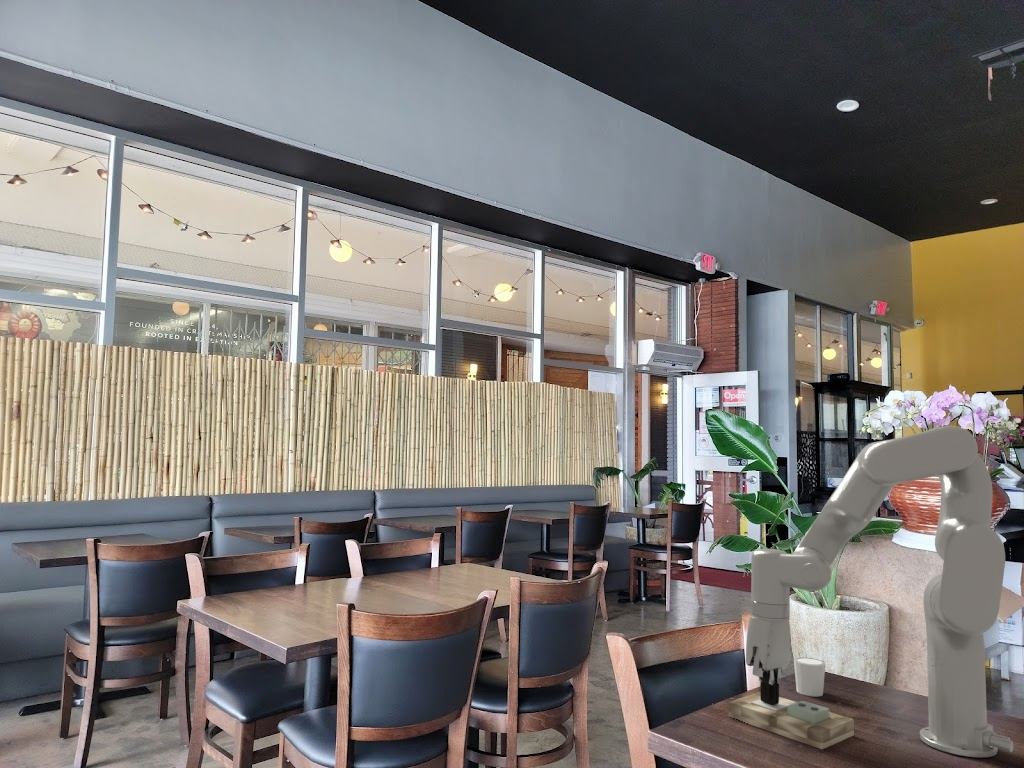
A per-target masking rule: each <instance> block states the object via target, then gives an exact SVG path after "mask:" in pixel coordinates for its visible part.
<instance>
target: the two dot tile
mask: <svg viewBox="0 0 1024 768" xmlns="http://www.w3.org/2000/svg"><path fill="white" fill-rule="evenodd" d="M796 702H797V703H794V704H791V705H788V706H787V715H788V716H791V717H794V718H797V719H800V720H803V721H806V722H809V723H812V724H817V723H820V722H822V721H825V720H827V719H829V712H830V708H829V707H825V706H822V705H819V704H815V703H811V702H808V701H804V700H800V701H796Z"/></svg>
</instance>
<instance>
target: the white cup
mask: <svg viewBox="0 0 1024 768" xmlns="http://www.w3.org/2000/svg"><path fill="white" fill-rule="evenodd" d="M793 667H794V676H795V687H796V688H795V689H796V692H797V693H798V694H800V695H802V696H803V695H804V696H807V697H822V696H823V694H824V686H825V676H826V675H825V673H826V662H825V661H824V660H821V659H818V658H812V657H795V658H794V659H793Z"/></svg>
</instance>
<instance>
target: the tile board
mask: <svg viewBox="0 0 1024 768" xmlns="http://www.w3.org/2000/svg"><path fill="white" fill-rule="evenodd" d="M760 699H761V691H759V692H755V693H753V694H750V695H746V696H743V697H739V698H736V699H733V700H731V701H728V717H729V716H730V717H732V718H731V719H733V718H735V719H734V720H736V719H738V720H741V721H743V722H742V723H744V722H745V723H744V724H747V723H748V724H747V725H750V726H754V727H755V728H756V727H757V728H759V729H762V730H765V731H768V732H771V733H774V734H776V735H780V736H782V737H785V738H788V739H791V740H794V741H797V742H800V743H803V744H805V745H809V746H811V747H814V748H818V749H820V750H824V749H826V748H829V747H830V746H834V745H837V744H838V743H840V742H842V741H844V740H847V739H848V738H851V737H853V736H855V729H854V728H855V727H854V726H855V725H854V724H855V720H854V718H850V717H848V716H844V715H841V714H837V713H834V712H831V711H829V719H827V720H825V721H822V722H820V723H817V724H812V723H809V722H806V721H803V720H800V719H797V718H794V717H791V716H788V715H787V709H784V710H781V711H778V712H775V711H772V710H769V709H766V708H763V707H759V706H756V705H753V704H751V702H754V701H757V700H760ZM779 701H780V702H783V703H787V704H790V705H791V704H794V703H797V702H798V701H795V700H791V699H788V698H784V697H781V696H779ZM730 717H729V718H730ZM738 720H737V721H738ZM741 721H740V722H741Z"/></svg>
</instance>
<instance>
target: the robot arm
mask: <svg viewBox="0 0 1024 768" xmlns="http://www.w3.org/2000/svg"><path fill="white" fill-rule="evenodd" d="M978 451H979V445H978V442H977V439H975V437H974V435H973V434H972V433H971V432H970V431H968V430H967V429H965V428H963V427H961V426H957V425H944V426H937V427H934V428H930V429H928V430H925V431H922V432H917V433H914V434H909V435H906V436H901V437H896V438H891V439H886V440H879V441H874V442H871V443H869V444H866V445H865V446H864V447H863V448H862V449H861V450H860V452H859V453H858V455H857V456H856V458H855V459H854V460H853V462H852V464H851V465H850V467H849V468H848V470H847V472H845V475H844V476H843V478H842V479H841V480H840V482H839V484H838V485H837V487H836V488H835V489H834V491H833V492H832V494H831V496H830V497H829V498H828V500H827V501H826V503H825V504H824V506H823V507H822V509H821V511H820V513H819V514H818V515H817V517H816V519H815V520H813V523H812V524H811V526H810V527H809V528H808V529H807V531H806V532H805V535H803V537H802V538H801V540H800V542H799V543H798V545H797V547H796V548H795V549H794V551H793V552H792V553H788V552H786V551H784V550H781V549H774V548H757V549H754V550H753V552H751V577H750V578H751V579H750V580H751V582H750V583H751V584H750V585H751V589H750V590H751V591H750V594H751V596H750V597H751V598H750V601H751V602H750V603H751V604H750V617H749V620H748V625H747V633H746V644H745V645H746V647H745V664H746V666H749V667H752V673H751V674H752V675H753V676H756V677H758V681H759V682H760V692H761V701H762V702H765V703H768V704H772V705H775V704H778V703H779V697H780V682H781V681H782V680H781V679H782V674H783V671H785V670H786V669H787V666H788V665H789V664H790V663H791V661H792V636H791V635H792V634H791V625H790V618H791V617H790V614H791V613H790V612H791V611H790V610H791V609H790V604H791V603H790V602H791V601H790V600H791V599H790V597H791V594H790V590H791V589H790V588H794V589H798V590H802V591H807V592H819V591H821V590H823V589H825V588H826V587H828V585H829V584H830V582H831V580H832V569H831V566H832V565H833V562H834V561H835V559H836V558H837V556H838V555H839V553H840V552H841V550H842V549H843V548H844V546H846V544H847V543H848V542H849V541H850V540H851V539H852V538H853V537H854V536H855V535H857V534H859V533H860V532H862V530H864V529H865V528H866V527H867V526H868V525H869V523H870V522H871V521H872V519H873V518H874V516H875V514H876V513H877V511H878V509H879V508H880V507H881V505H882V504H883V502H884V500H885V499H886V497H887V496H888V494H890V492H891V490H892V489H893V488H894V486H895V485H898V484H904V483H909V482H915V481H919V480H924V479H928V478H932V477H937V476H938V479H939V482H940V491H941V493H940V504H939V505H940V506H939V512H938V513H939V514H938V521H937V527H936V532H935V537H934V546H935V551H936V553H937V555H938V557H940V558H941V560H942V561H943V562H942V563H943V564H942V573H940V574H938V575H936V576H934V577H933V578H931V579H930V580H929V581H928V583H927V584H926V586H925V589H924V590H923V591H924V592H923V599H922V601H923V602H922V603H923V611H924V613H923V614H924V618H925V619H924V620H925V621H924V622H925V629H926V631H925V632H926V651H927V653H926V654H927V656H926V659H927V661H926V663H927V701H928V705H927V706H928V708H927V709H928V726H926V727H923V728H921V729H920V730H919V739H920V740H921V741H922V742H923V743H925V744H926V745H928V746H929V747H932V748H934V749H936V750H939V751H941V752H945V753H949V754H953V755H957V756H963V757H967V758H968V757H969V758H990V757H994V756H996V755H997V754H998V753H997V752H999V750H998V749H1000V750H1002V751H1005V752H1009V753H1013V751H1014V742H1013V740H1011V738H1010V737H1007V736H1004V735H1000V734H997V733H996V732H995V731H994V727H993V725H994V724H992V723H991V724H990V723H988V719H987V718H988V716H987V715H988V714H987V711H988V710H987V684H986V683H987V681H986V647H985V646H986V645H985V638H984V633H987V632H988V631H989V630H990V629H991V628H992V627H993V626H994V625H995V623H996V622H997V618H998V615H999V611H1000V606H1001V601H1002V600H1001V599H1002V598H1001V597H1002V591H1003V584H1004V576H1005V575H1004V574H1005V568H1006V551H1005V546H1004V543H1003V541H1002V539H1001V537H1000V536H999V534H998V533H997V532H996V531H995V530H994V529H993V528H991V523H992V522H991V521H992V509H993V507H992V506H993V483H992V478H991V475H990V472H989V470H988V468H987V466H986V464H985V462H984V461H983V459H982V458H981V456H980V455H979V454H978Z"/></svg>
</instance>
